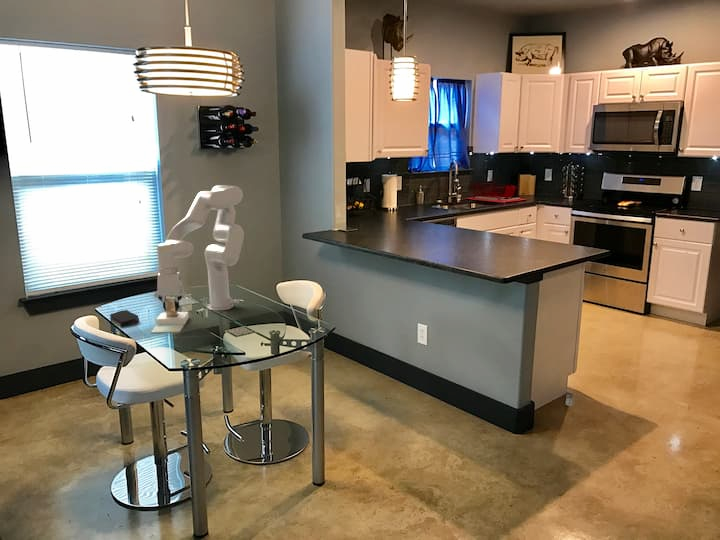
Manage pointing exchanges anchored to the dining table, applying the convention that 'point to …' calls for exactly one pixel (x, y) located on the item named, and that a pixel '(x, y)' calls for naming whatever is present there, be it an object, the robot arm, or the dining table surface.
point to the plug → (170, 307)
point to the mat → (167, 328)
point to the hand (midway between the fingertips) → (171, 309)
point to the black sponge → (124, 318)
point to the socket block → (172, 319)
